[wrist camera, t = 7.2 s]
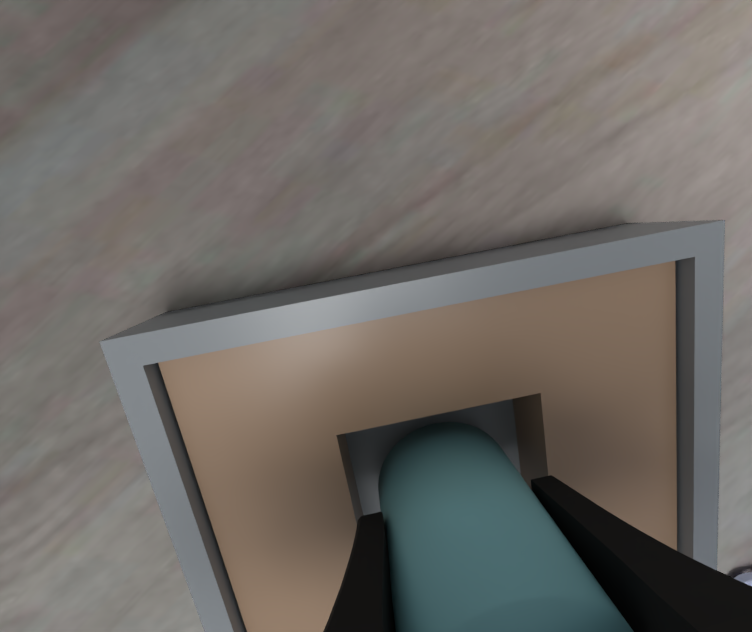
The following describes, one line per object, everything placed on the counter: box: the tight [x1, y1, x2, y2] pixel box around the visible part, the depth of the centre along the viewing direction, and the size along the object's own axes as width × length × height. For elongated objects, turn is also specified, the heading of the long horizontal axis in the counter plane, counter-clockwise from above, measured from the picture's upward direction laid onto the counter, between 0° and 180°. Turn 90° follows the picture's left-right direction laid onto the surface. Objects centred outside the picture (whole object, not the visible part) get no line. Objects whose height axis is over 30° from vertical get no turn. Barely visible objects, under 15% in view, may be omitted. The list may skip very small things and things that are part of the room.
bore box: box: [100, 220, 725, 632], centre depth 13 cm, size 16×14×4 cm
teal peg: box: [378, 422, 634, 632], centre depth 10 cm, size 4×4×6 cm
